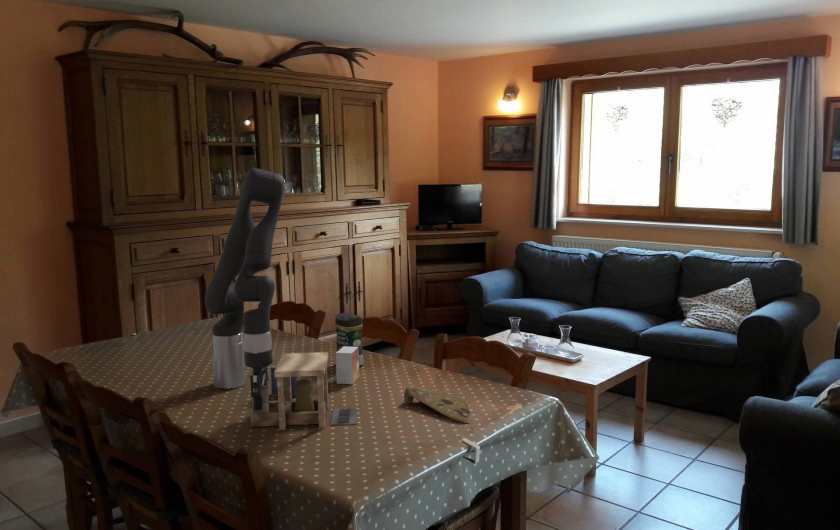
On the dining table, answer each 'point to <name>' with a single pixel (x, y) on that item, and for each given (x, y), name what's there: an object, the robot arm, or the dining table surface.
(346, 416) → the wooden stool
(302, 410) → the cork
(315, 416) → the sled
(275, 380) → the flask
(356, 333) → the coffee jar
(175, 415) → the dining table surface
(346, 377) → the small box
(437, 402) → the decorative stone
